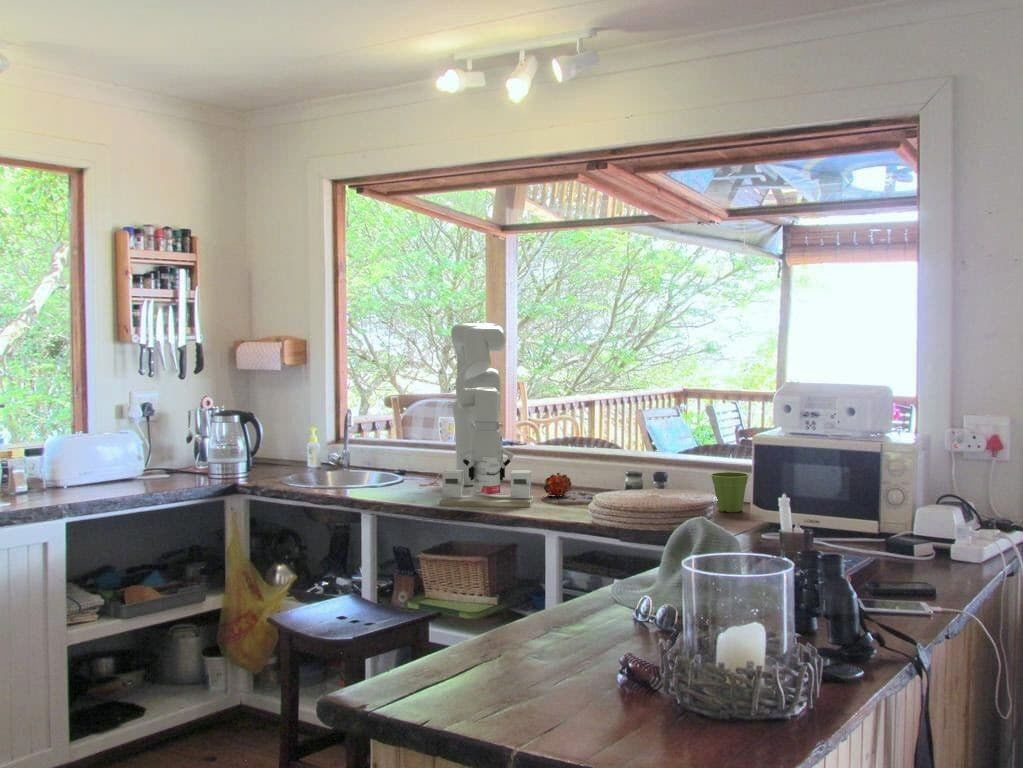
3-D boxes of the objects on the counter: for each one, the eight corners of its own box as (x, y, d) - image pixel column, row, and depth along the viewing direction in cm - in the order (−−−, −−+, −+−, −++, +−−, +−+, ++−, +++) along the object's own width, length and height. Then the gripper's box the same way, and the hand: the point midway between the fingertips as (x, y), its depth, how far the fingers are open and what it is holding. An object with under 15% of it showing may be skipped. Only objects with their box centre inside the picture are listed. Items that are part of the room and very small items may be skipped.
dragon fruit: (572, 499, 329) (548, 508, 321) (556, 482, 333) (532, 491, 325) (581, 481, 324) (557, 490, 316) (564, 464, 328) (540, 473, 320)
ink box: (501, 493, 310) (500, 456, 309) (488, 494, 307) (488, 458, 306) (485, 489, 317) (484, 454, 316) (472, 491, 314) (472, 455, 313)
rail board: (445, 499, 319) (445, 468, 318) (533, 500, 316) (533, 469, 316) (439, 505, 307) (439, 473, 306) (530, 506, 304) (530, 474, 304)
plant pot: (731, 506, 303) (731, 470, 303) (757, 512, 293) (757, 475, 292) (701, 509, 298) (702, 473, 297) (727, 515, 287) (727, 477, 287)
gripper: (514, 426, 313) (514, 478, 314) (461, 425, 315) (461, 477, 316) (512, 428, 306) (512, 481, 307) (458, 427, 308) (458, 481, 308)
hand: (486, 479), depth 311 cm, fingers closed on ink box, 9 cm apart
